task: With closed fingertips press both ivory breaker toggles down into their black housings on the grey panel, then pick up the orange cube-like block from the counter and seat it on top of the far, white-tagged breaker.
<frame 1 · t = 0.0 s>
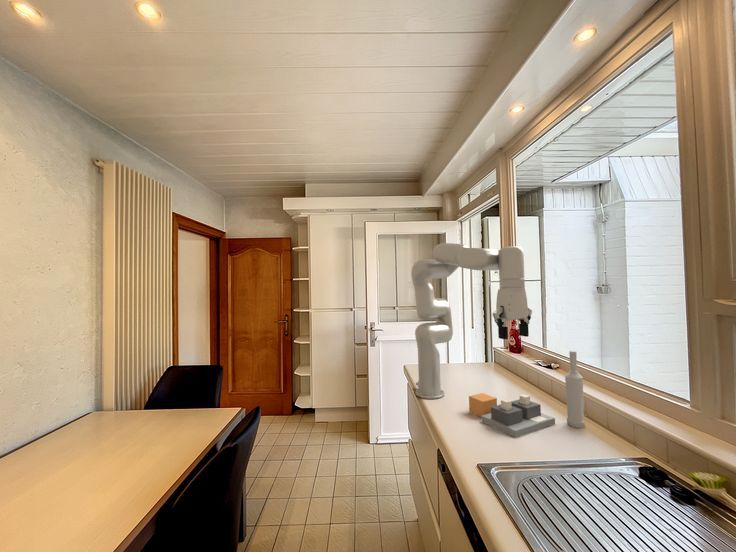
hand: (513, 337, 106), 31 cm above the kitchen counter, fingers open, 9 cm apart
bottle: (575, 425, 111), on the kitchen counter
toggle near: (506, 406, 112), point 7 cm above the kitchen counter, slide at 0.0 cm
orange cube-like block: (483, 413, 123), on the kitchen counter
panel: (517, 422, 114), on the kitchen counter
toggle far: (524, 401, 116), point 7 cm above the kitchen counter, slide at 0.0 cm
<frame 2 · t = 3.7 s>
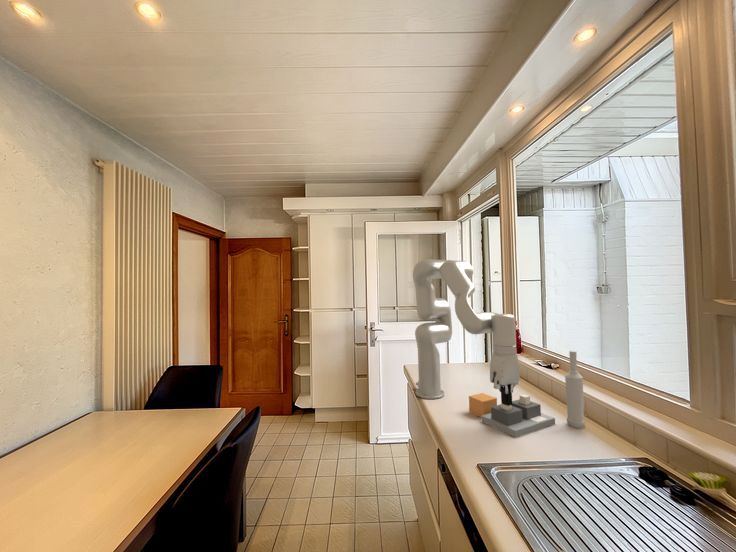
hand: (506, 404, 111), 8 cm above the kitchen counter, fingers closed
toggle near: (506, 409, 112), point 5 cm above the kitchen counter, slide at 1.1 cm, touching gripper
everything else where it was.
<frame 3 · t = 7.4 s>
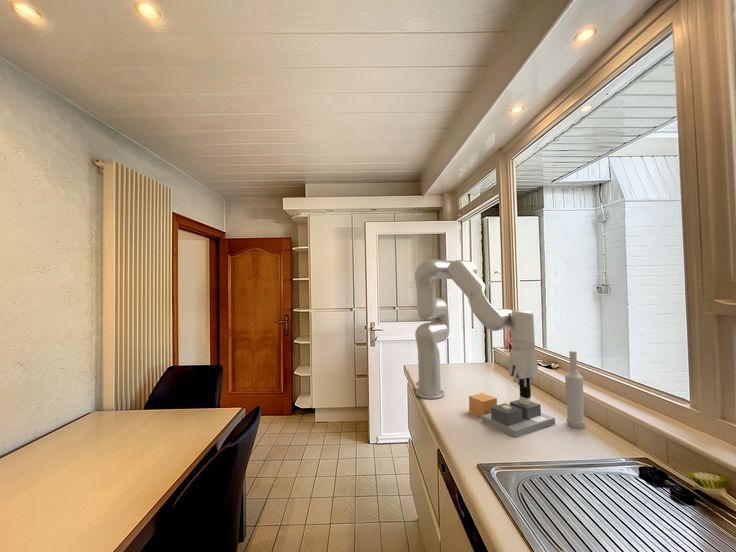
hand: (525, 396, 116), 8 cm above the kitchen counter, fingers closed
toggle near: (506, 412, 112), point 5 cm above the kitchen counter, slide at 2.0 cm
toggle far: (524, 402, 116), point 6 cm above the kitchen counter, slide at 0.4 cm, touching gripper
everything else where it was.
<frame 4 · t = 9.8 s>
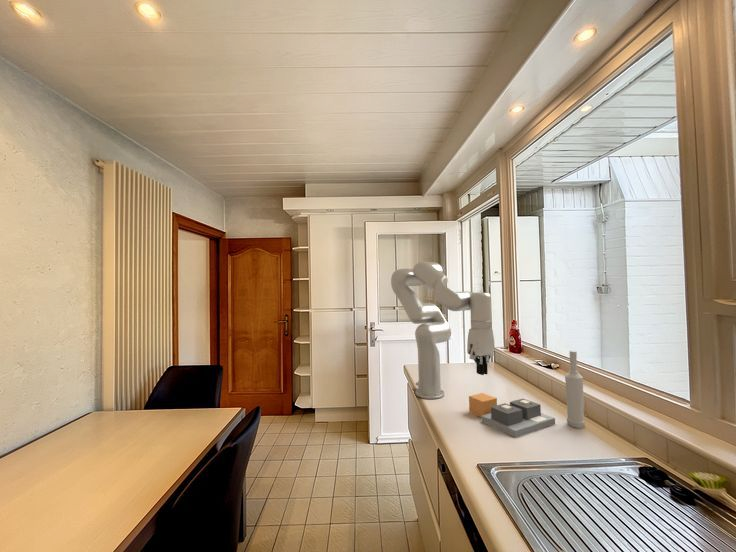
hand: (482, 373, 123), 15 cm above the kitchen counter, fingers closed
toggle far: (525, 407, 116), point 5 cm above the kitchen counter, slide at 2.0 cm
everything else where it was.
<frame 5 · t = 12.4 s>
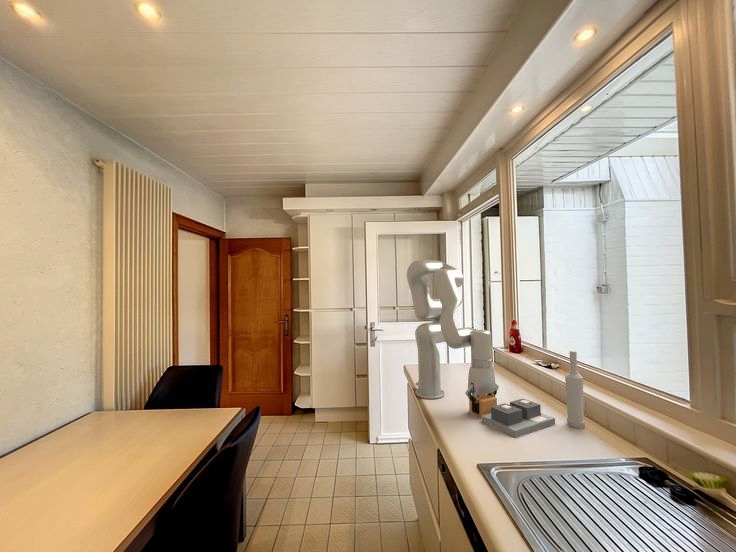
hand: (483, 410, 123), 1 cm above the kitchen counter, fingers closed on orange cube-like block, 7 cm apart
orange cube-like block: (483, 413, 123), on the kitchen counter, touching gripper
everything else where it was.
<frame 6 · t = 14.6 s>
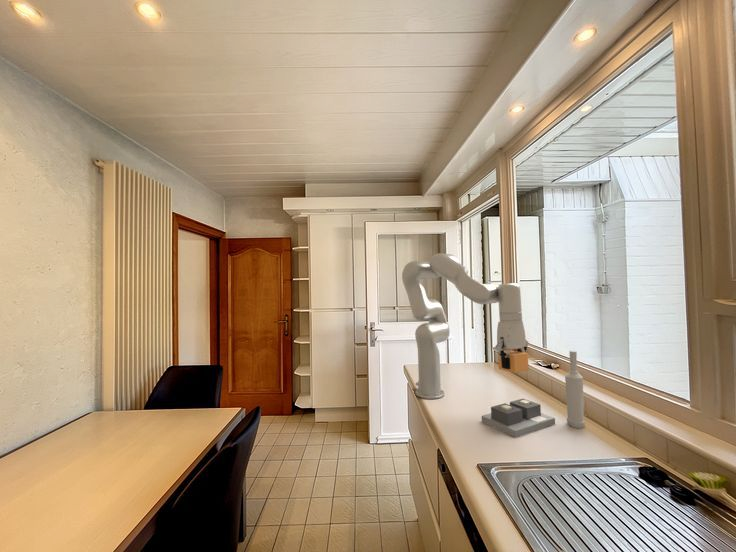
hand: (513, 366, 118), 19 cm above the kitchen counter, fingers closed on orange cube-like block, 7 cm apart
orange cube-like block: (513, 369, 118), point 18 cm above the kitchen counter, touching gripper
everything else where it was.
when the fingers open (8 cm above the kitchen counter, at t = 17.2 s): orange cube-like block drops 1 cm, resting on panel.
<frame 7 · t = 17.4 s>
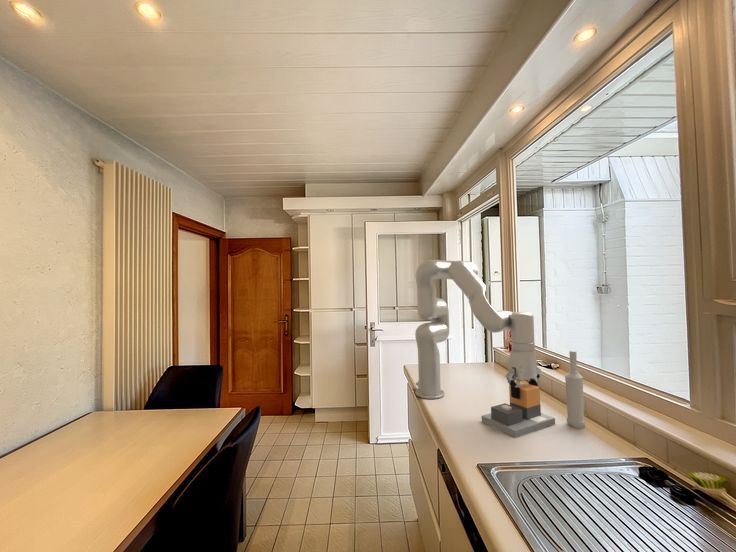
hand: (524, 395, 116), 9 cm above the kitchen counter, fingers open, 9 cm apart
orange cube-like block: (524, 403, 116), point 6 cm above the kitchen counter, touching panel
everything else where it was.
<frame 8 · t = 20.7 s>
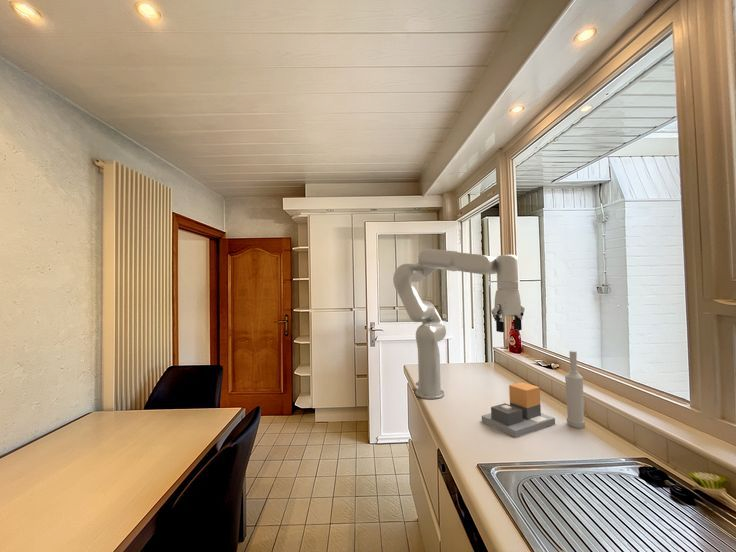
hand: (509, 330, 126), 30 cm above the kitchen counter, fingers open, 9 cm apart
nothing on the kitchen counter moved.
at the end: orange cube-like block 0.0 cm from the target spot, point 6.0 cm above the kitchen counter; orange cube-like block tilted 0°; toggle far slide at 2.0 cm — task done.
